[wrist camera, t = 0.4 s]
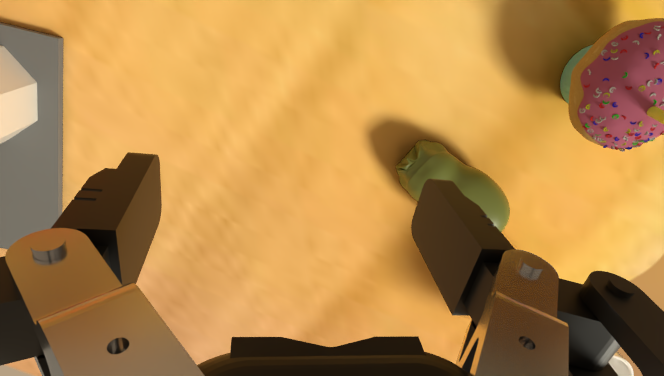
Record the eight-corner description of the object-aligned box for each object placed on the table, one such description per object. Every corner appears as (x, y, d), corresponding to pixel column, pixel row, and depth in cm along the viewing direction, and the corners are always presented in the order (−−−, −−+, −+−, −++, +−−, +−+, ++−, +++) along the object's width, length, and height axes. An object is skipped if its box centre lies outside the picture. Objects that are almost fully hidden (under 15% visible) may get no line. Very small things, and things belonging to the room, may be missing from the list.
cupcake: (605, 138, 33) (757, 204, 23) (516, 116, 32) (634, 175, 21) (663, 31, 30) (874, 49, 19) (567, 0, 28) (739, 0, 18)
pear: (480, 269, 31) (382, 190, 29) (461, 238, 36) (377, 169, 34) (536, 218, 29) (437, 131, 27) (509, 193, 34) (423, 119, 32)
